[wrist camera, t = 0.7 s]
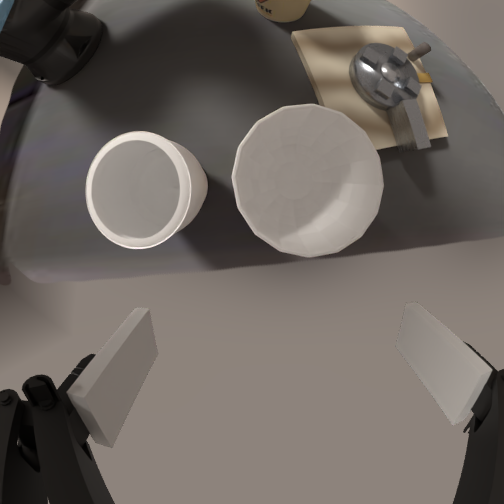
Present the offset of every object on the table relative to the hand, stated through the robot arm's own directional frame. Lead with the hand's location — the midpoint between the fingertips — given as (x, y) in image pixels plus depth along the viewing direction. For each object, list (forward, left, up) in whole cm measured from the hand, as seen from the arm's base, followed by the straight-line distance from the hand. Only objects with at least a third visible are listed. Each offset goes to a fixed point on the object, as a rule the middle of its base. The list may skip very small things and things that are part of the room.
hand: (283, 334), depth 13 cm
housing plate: (-17, +23, -25) cm, 38 cm away
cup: (-6, +5, -26) cm, 27 cm away
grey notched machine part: (-14, +23, -23) cm, 35 cm away
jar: (-10, -9, -26) cm, 29 cm away
